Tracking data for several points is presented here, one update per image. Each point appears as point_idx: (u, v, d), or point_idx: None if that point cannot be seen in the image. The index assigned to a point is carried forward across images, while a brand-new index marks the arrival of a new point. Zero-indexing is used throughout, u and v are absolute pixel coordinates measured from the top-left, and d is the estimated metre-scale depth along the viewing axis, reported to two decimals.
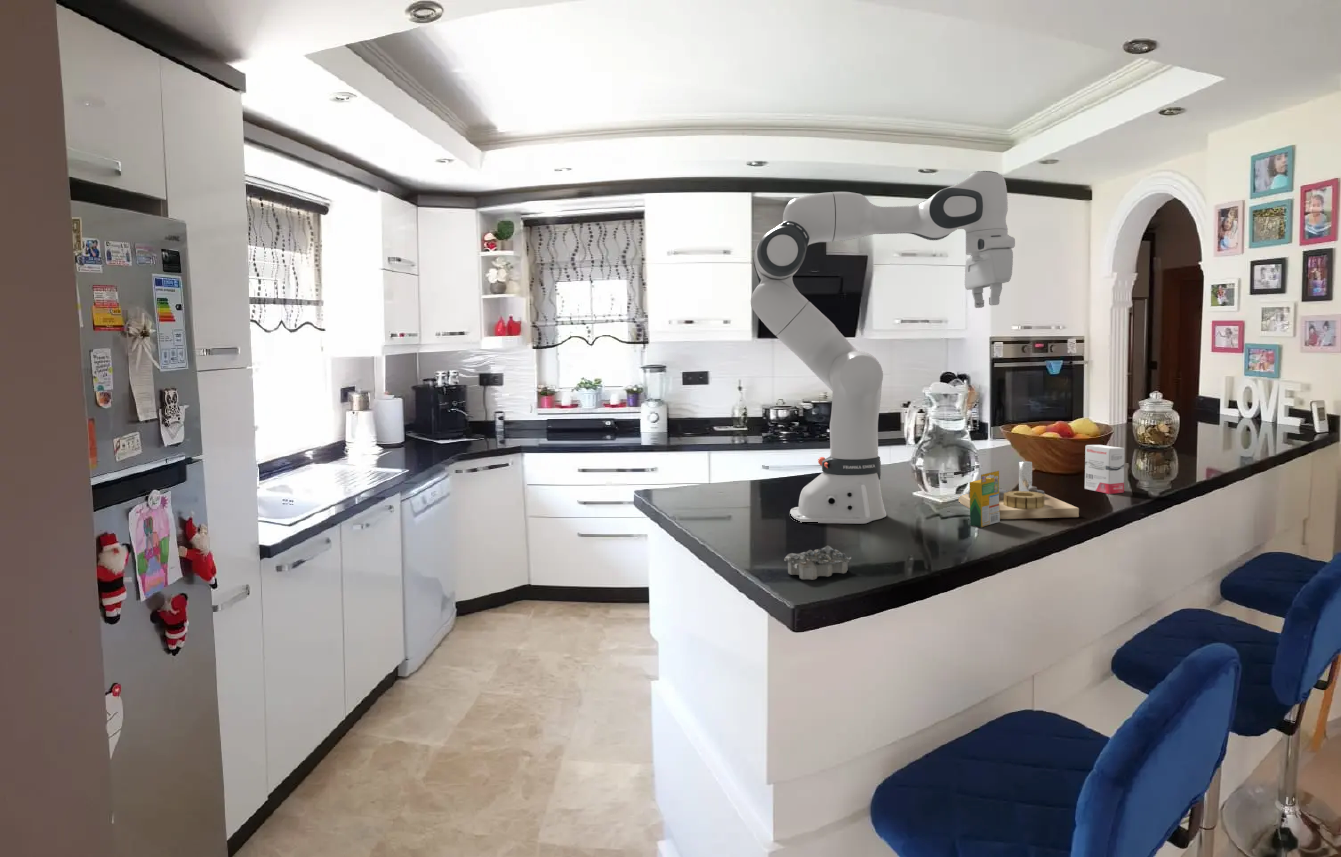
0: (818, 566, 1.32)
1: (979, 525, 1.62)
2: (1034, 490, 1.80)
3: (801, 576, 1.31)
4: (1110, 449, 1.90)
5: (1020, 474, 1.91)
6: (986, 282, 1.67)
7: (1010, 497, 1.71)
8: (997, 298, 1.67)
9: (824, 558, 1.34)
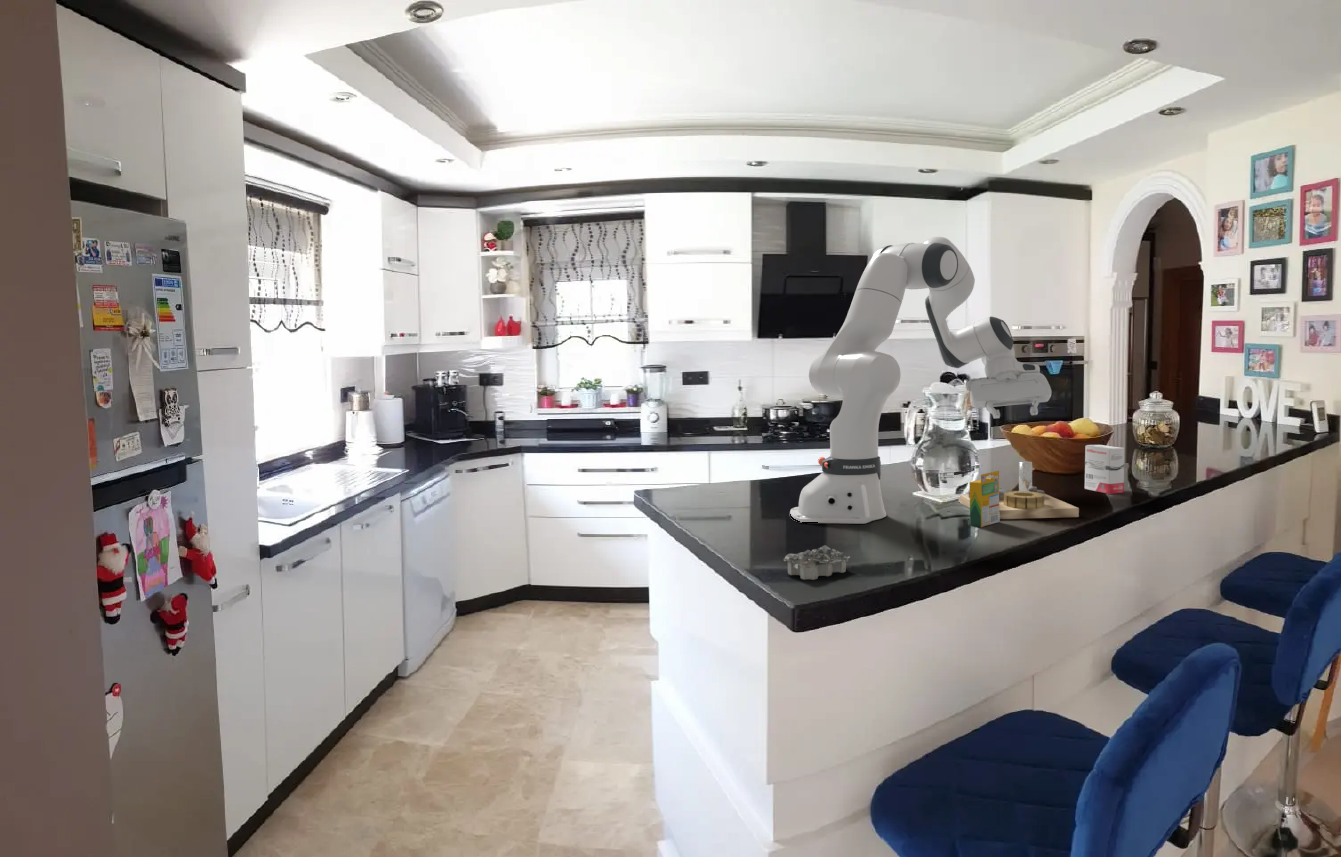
0: (818, 566, 1.32)
1: (979, 525, 1.62)
2: (1034, 490, 1.80)
3: (802, 576, 1.31)
4: (1110, 449, 1.90)
5: (1020, 474, 1.91)
6: (1031, 394, 2.00)
7: (1010, 497, 1.71)
8: None
9: (823, 558, 1.35)
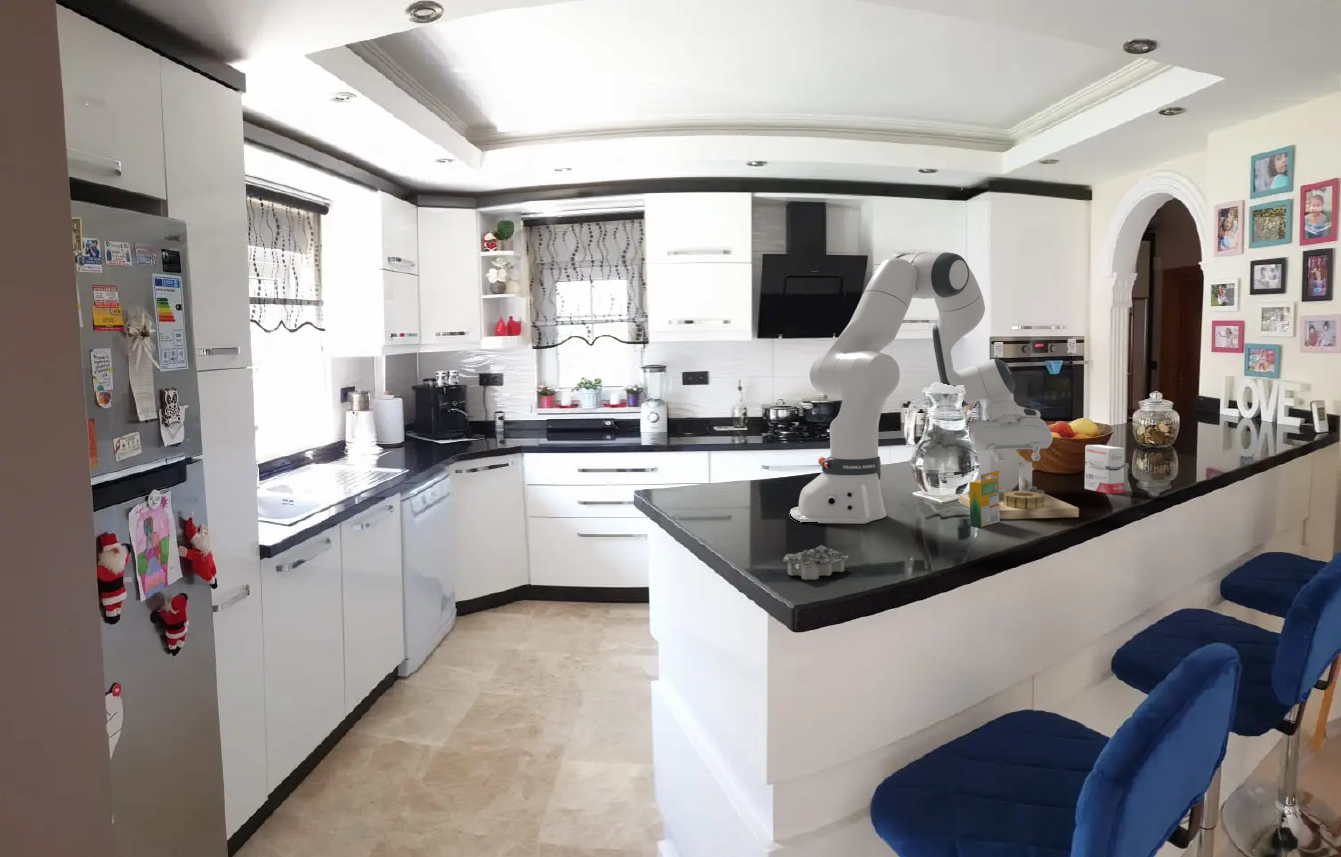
0: (818, 566, 1.32)
1: (979, 525, 1.62)
2: (1034, 490, 1.80)
3: (803, 576, 1.31)
4: (1110, 449, 1.90)
5: (1020, 474, 1.91)
6: (1033, 440, 1.97)
7: (1010, 497, 1.71)
8: None
9: (822, 557, 1.35)
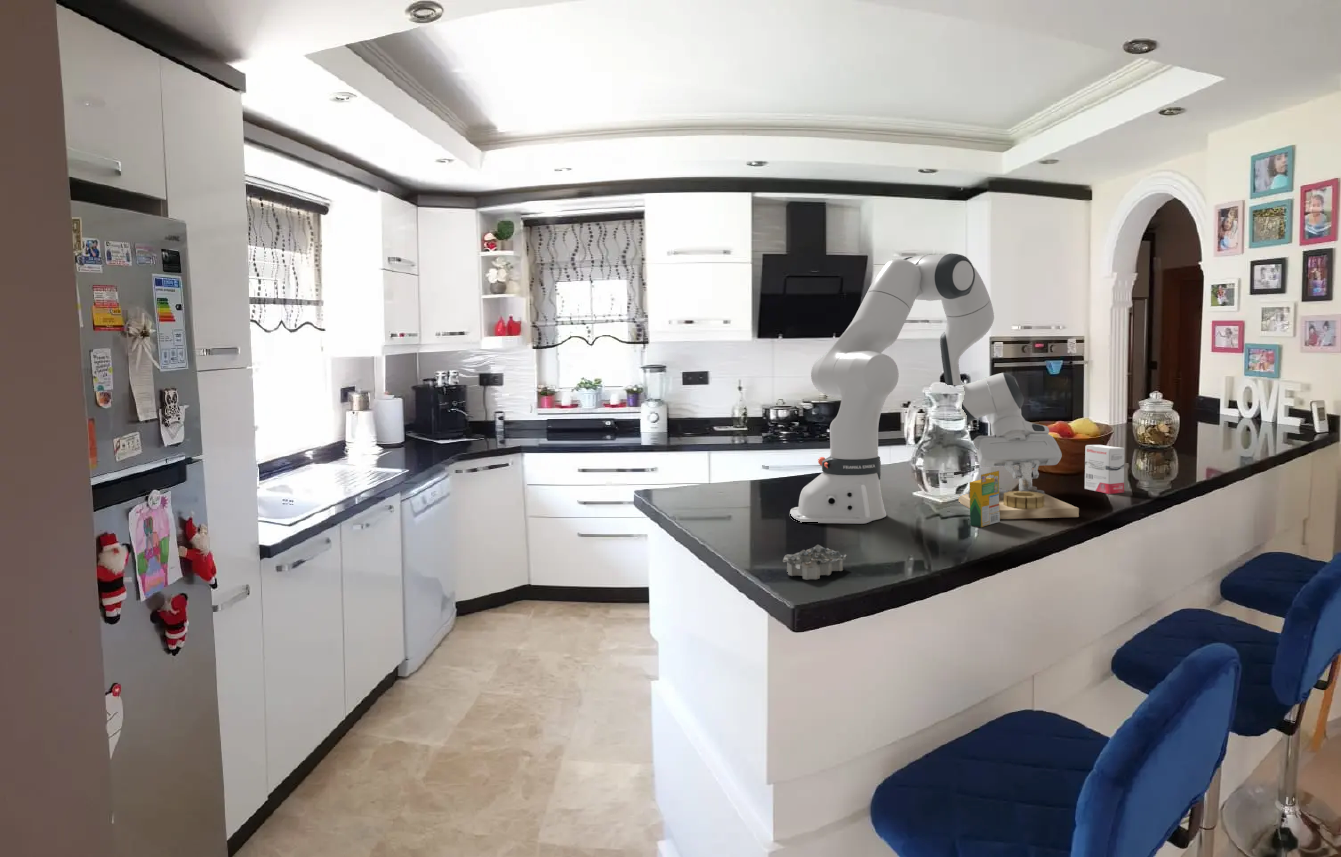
0: (818, 565, 1.32)
1: (979, 525, 1.62)
2: (1034, 490, 1.80)
3: (805, 576, 1.31)
4: (1110, 449, 1.90)
5: None
6: (1042, 456, 1.92)
7: (1010, 497, 1.71)
8: None
9: (821, 557, 1.35)
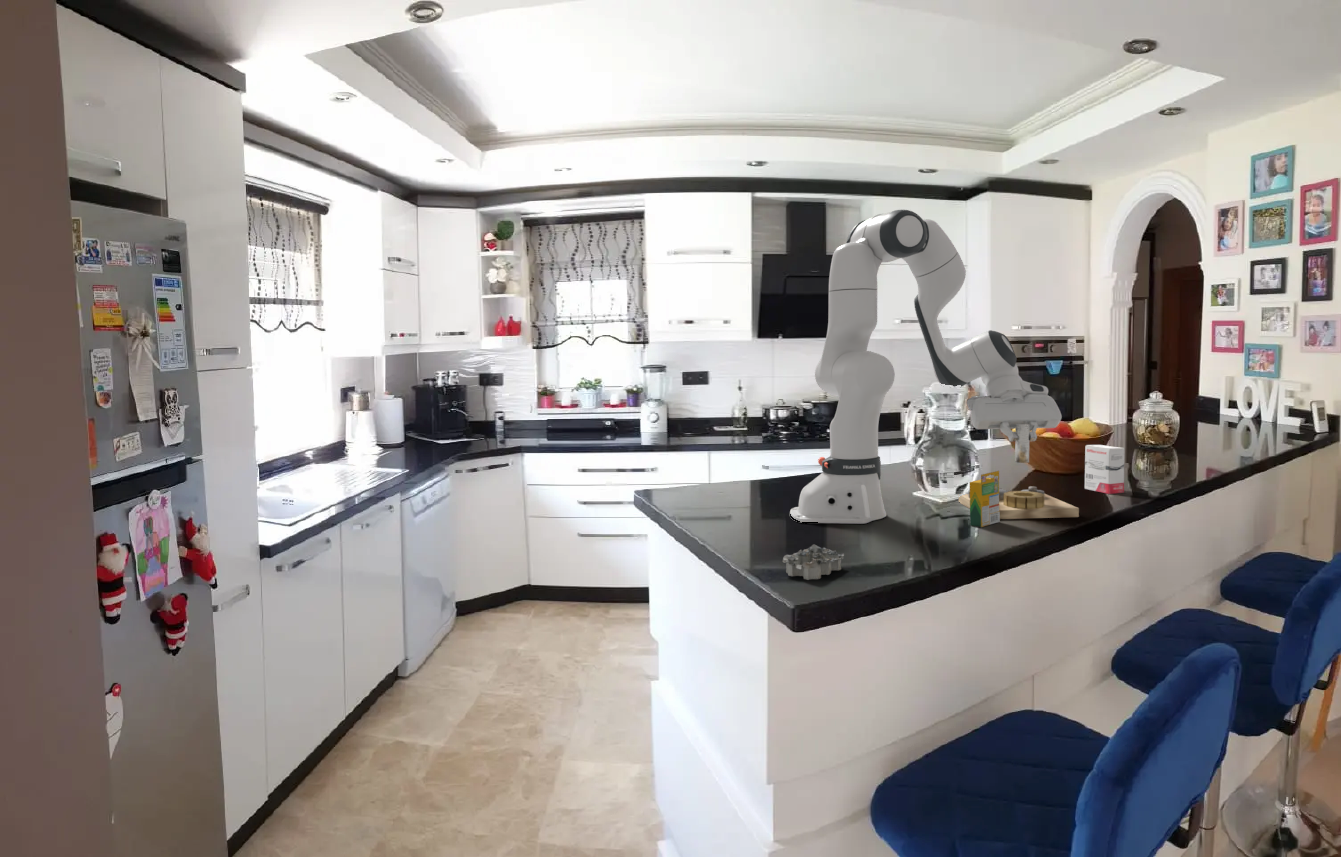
0: (819, 565, 1.33)
1: (979, 525, 1.62)
2: (1034, 490, 1.80)
3: (806, 577, 1.31)
4: (1110, 449, 1.90)
5: None
6: (1040, 418, 1.78)
7: (1010, 497, 1.71)
8: None
9: (820, 557, 1.35)
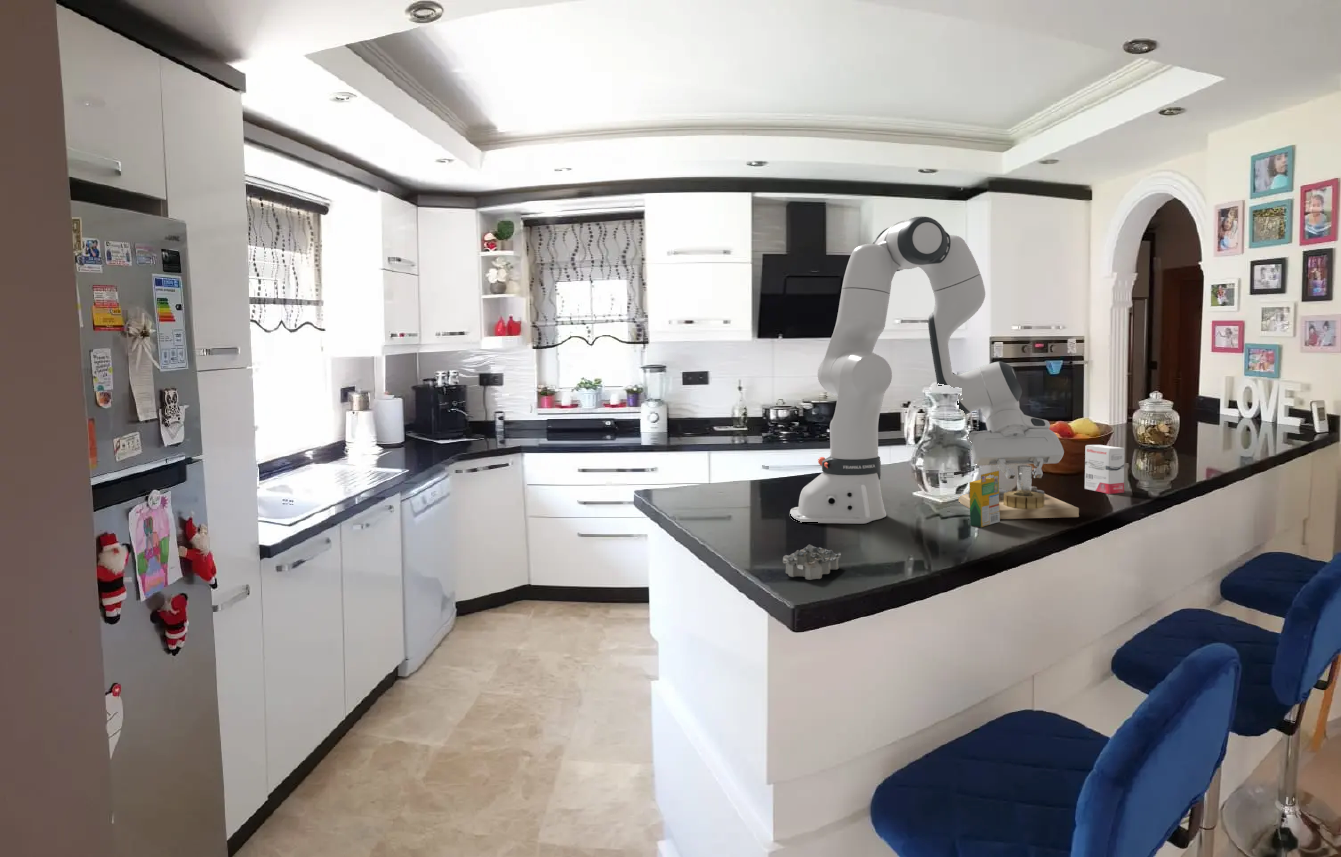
0: None
1: (979, 525, 1.62)
2: (1034, 490, 1.80)
3: (808, 576, 1.31)
4: (1110, 449, 1.90)
5: (1018, 479, 1.72)
6: (1042, 454, 1.74)
7: (1010, 497, 1.71)
8: None
9: (818, 556, 1.36)
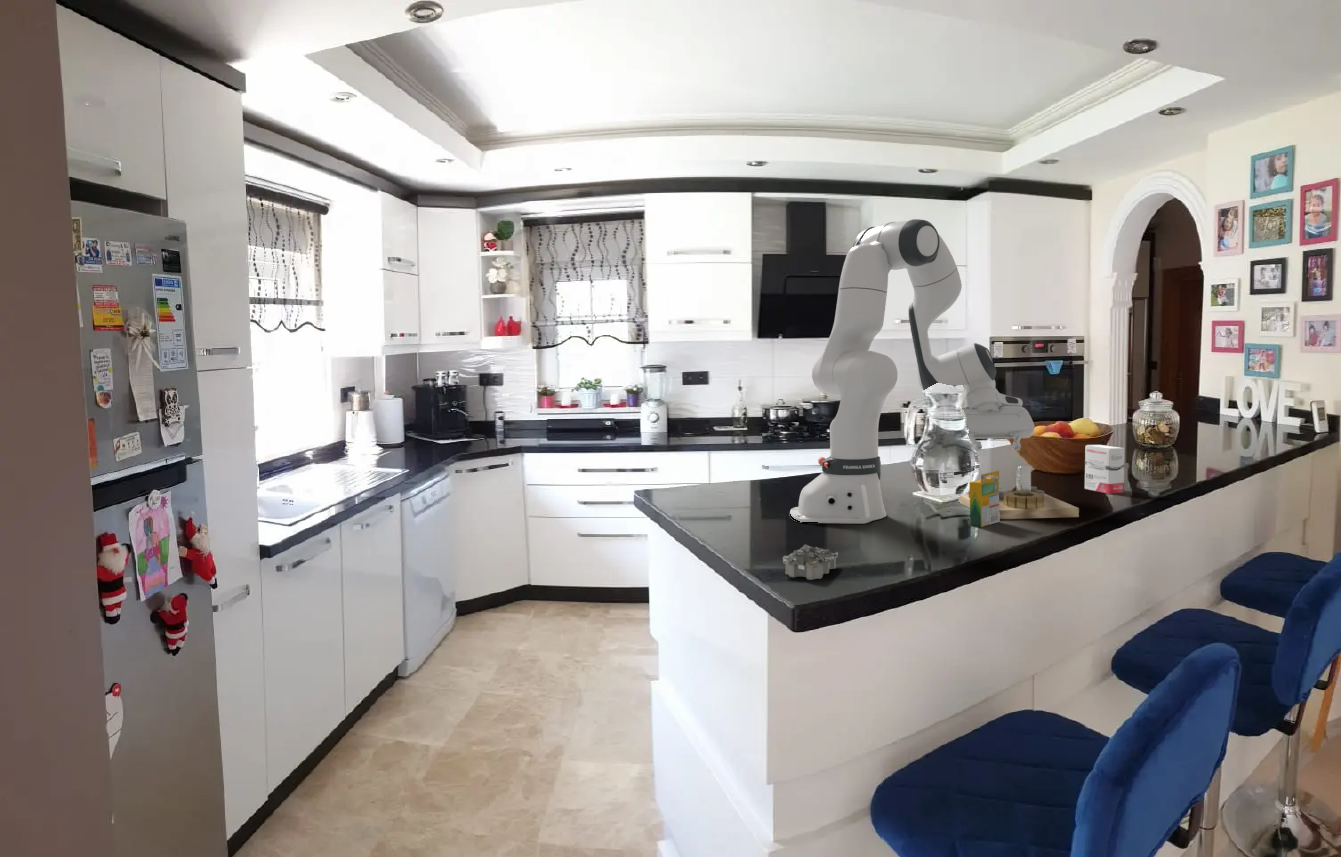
0: None
1: (979, 525, 1.62)
2: (1034, 490, 1.80)
3: (810, 576, 1.30)
4: (1110, 449, 1.90)
5: (1018, 480, 1.72)
6: (1014, 428, 1.87)
7: (1010, 497, 1.71)
8: None
9: (817, 556, 1.36)
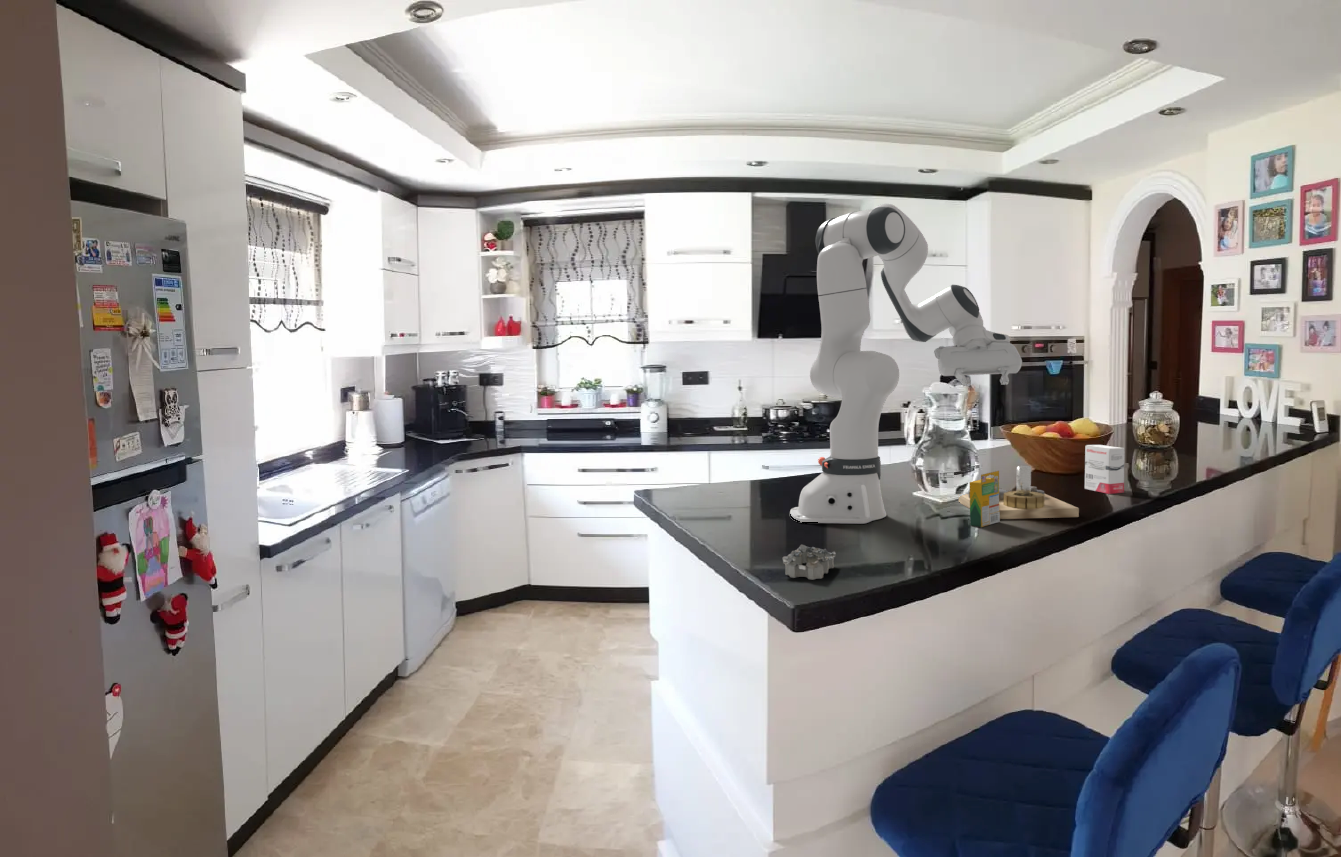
0: None
1: (979, 525, 1.62)
2: (1034, 490, 1.80)
3: (811, 576, 1.30)
4: (1110, 449, 1.90)
5: (1018, 480, 1.72)
6: (1002, 363, 1.91)
7: (1010, 497, 1.71)
8: None
9: (816, 556, 1.36)
